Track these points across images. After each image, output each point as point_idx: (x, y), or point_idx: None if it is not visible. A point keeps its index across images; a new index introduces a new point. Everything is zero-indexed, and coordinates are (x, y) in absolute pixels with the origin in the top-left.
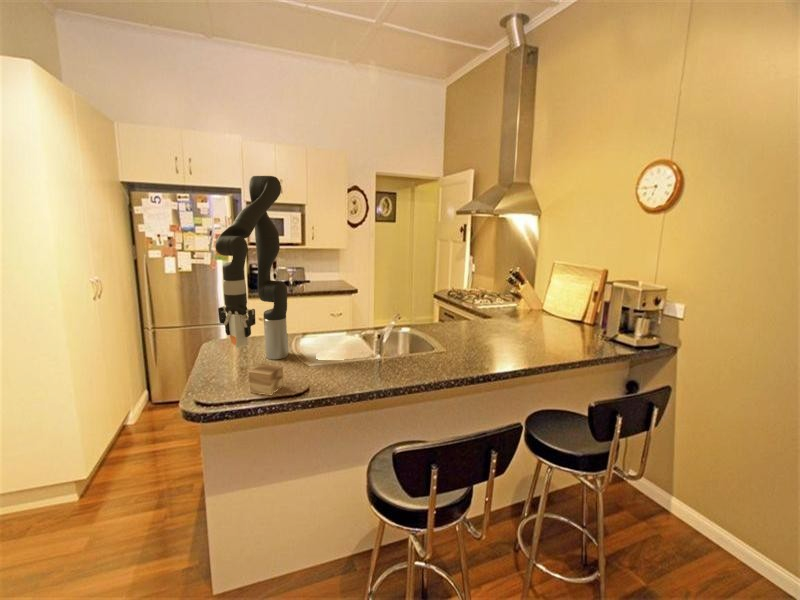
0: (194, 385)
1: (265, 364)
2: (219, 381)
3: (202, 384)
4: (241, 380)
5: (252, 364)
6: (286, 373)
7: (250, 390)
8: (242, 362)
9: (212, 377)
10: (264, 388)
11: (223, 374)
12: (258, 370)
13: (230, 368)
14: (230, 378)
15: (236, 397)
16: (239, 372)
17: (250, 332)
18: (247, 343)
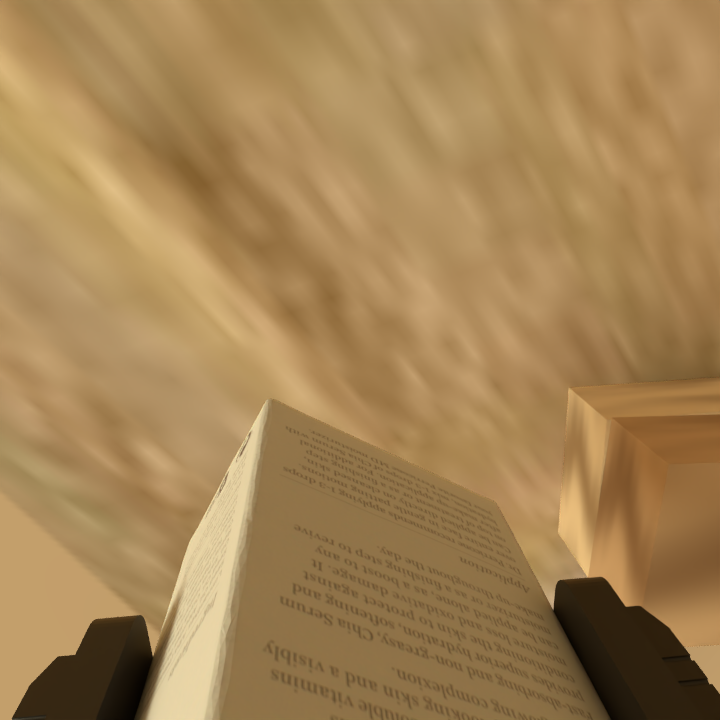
0: (112, 576)
1: (699, 470)
2: (222, 466)
3: (149, 546)
4: (369, 395)
5: (200, 22)
6: (656, 130)
7: (567, 544)
8: (50, 3)
9: (106, 428)
10: None
11: (137, 348)
12: (701, 601)
13: (77, 206)
14: (258, 394)
15: None
16: (234, 261)
17: (684, 668)
18: (502, 520)
